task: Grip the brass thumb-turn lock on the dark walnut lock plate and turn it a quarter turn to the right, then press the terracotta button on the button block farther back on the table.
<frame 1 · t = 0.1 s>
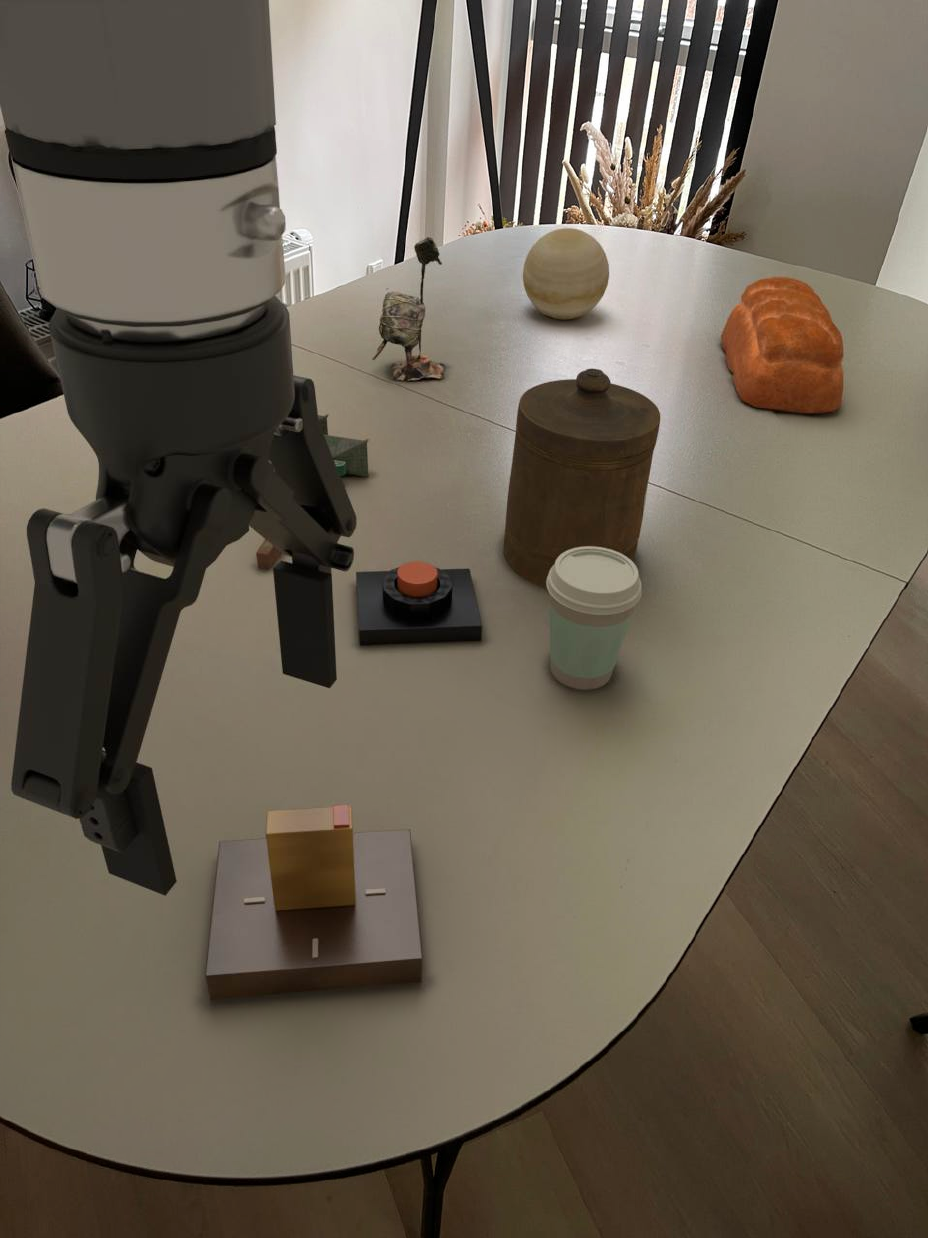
hand: (236, 766, 43), 27 cm above the table, tool pointing down, fingers open, 13 cm apart
decorative ball: (561, 318, 170), on the table
button block: (416, 615, 97), on the table
bird figurine: (410, 374, 147), on the table
bread: (775, 375, 153), on the table
wooden container: (567, 557, 108), on the table
miniature gate: (244, 493, 116), on the table
lock plate: (317, 922, 68), on the table
bell button: (417, 579, 95), point 4 cm above the table, slide at 0.1 cm
coffee cup: (580, 673, 91), on the table
lock knob: (312, 858, 63), point 7 cm above the table, hinge at 0.0°
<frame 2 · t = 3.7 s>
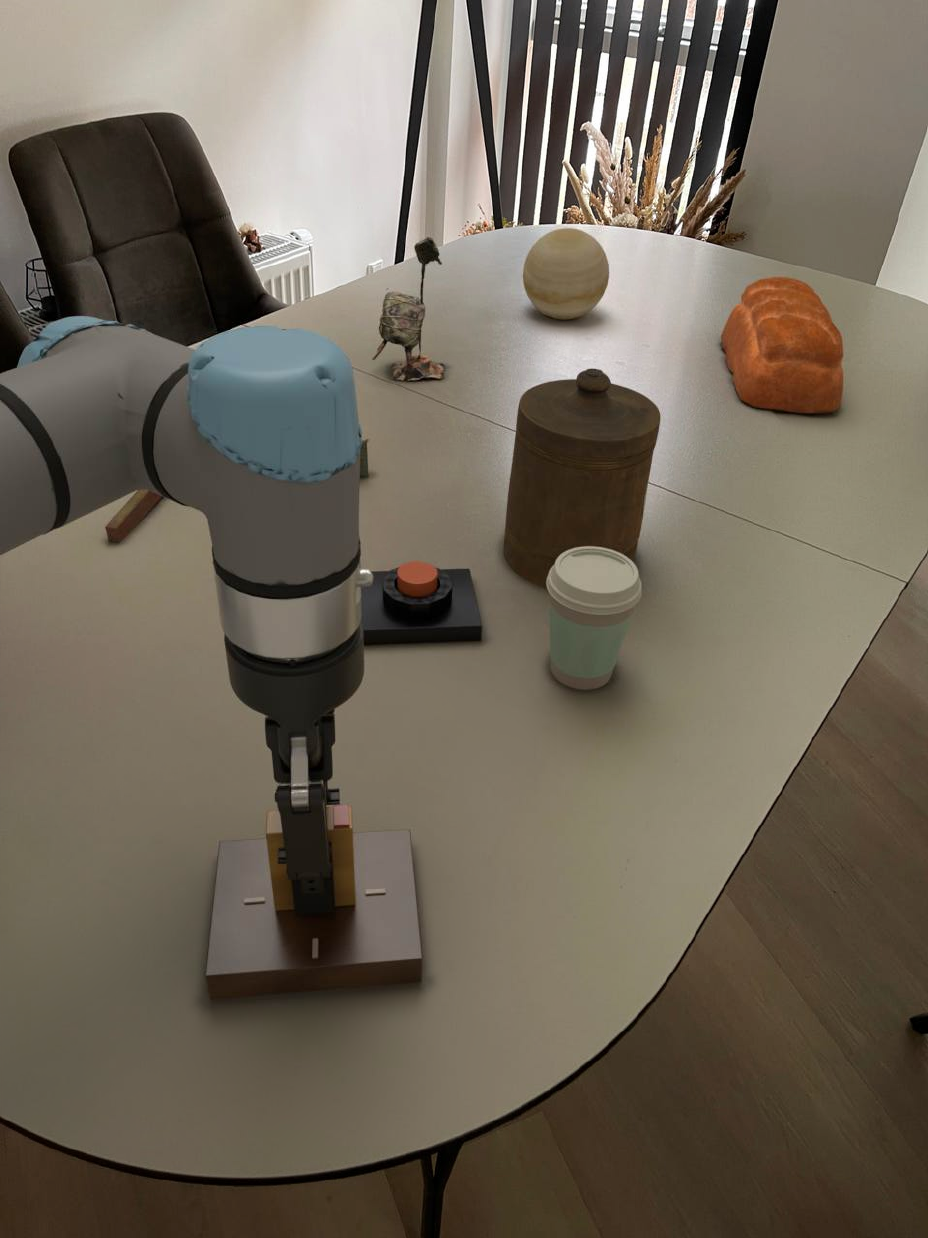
hand: (315, 892, 66), 3 cm above the table, tool pointing down, fingers closed on lock knob, 2 cm apart
lock knob: (312, 858, 63), point 7 cm above the table, hinge at 0.0°, touching gripper
everything else where it was.
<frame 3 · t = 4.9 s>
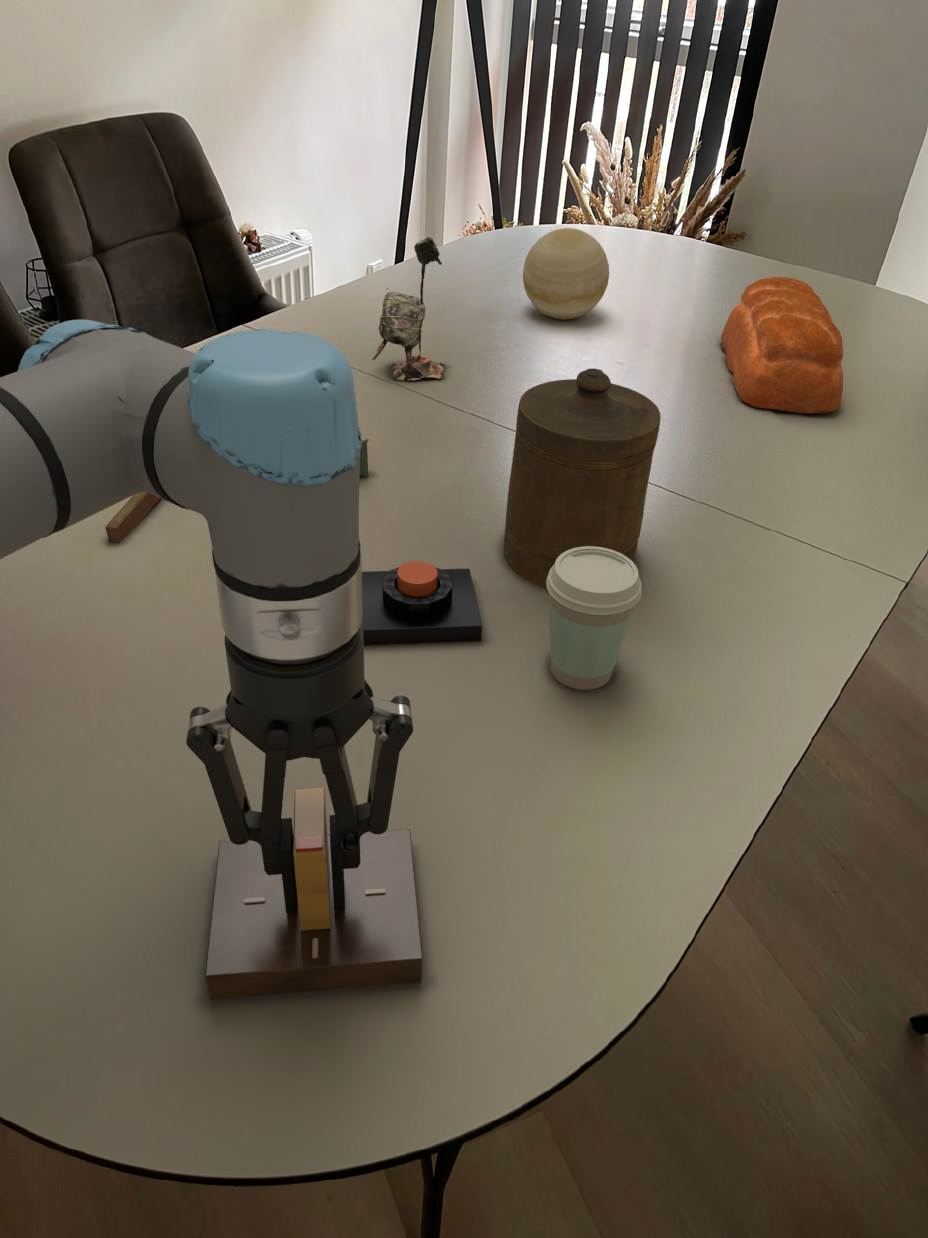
hand: (315, 894, 66), 3 cm above the table, tool pointing down, fingers open, 2 cm apart
lock knob: (312, 858, 63), point 7 cm above the table, hinge at -89.5°
everything else where it was.
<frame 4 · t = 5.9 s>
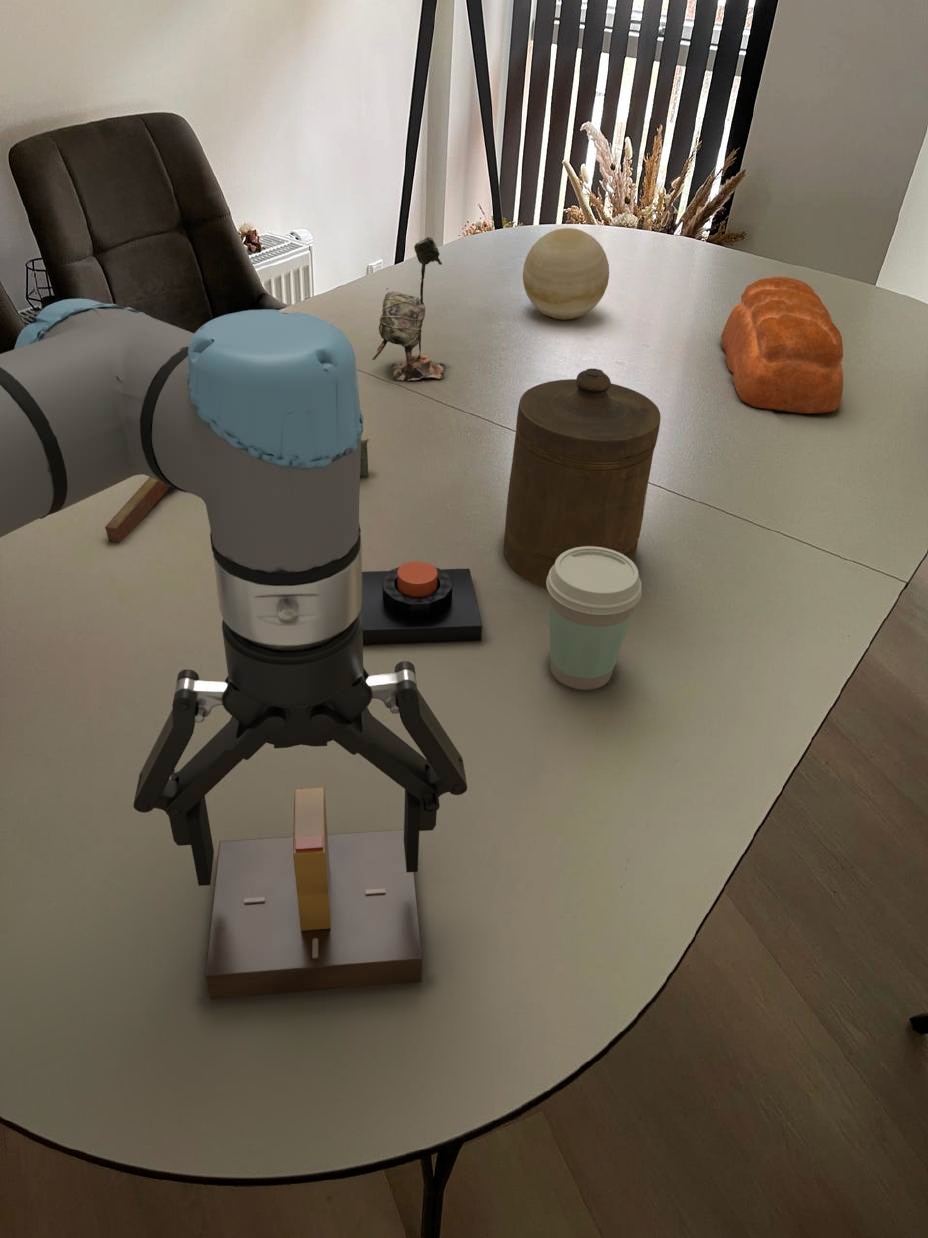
hand: (309, 862, 64), 6 cm above the table, tool pointing down, fingers open, 13 cm apart
nothing on the table moved.
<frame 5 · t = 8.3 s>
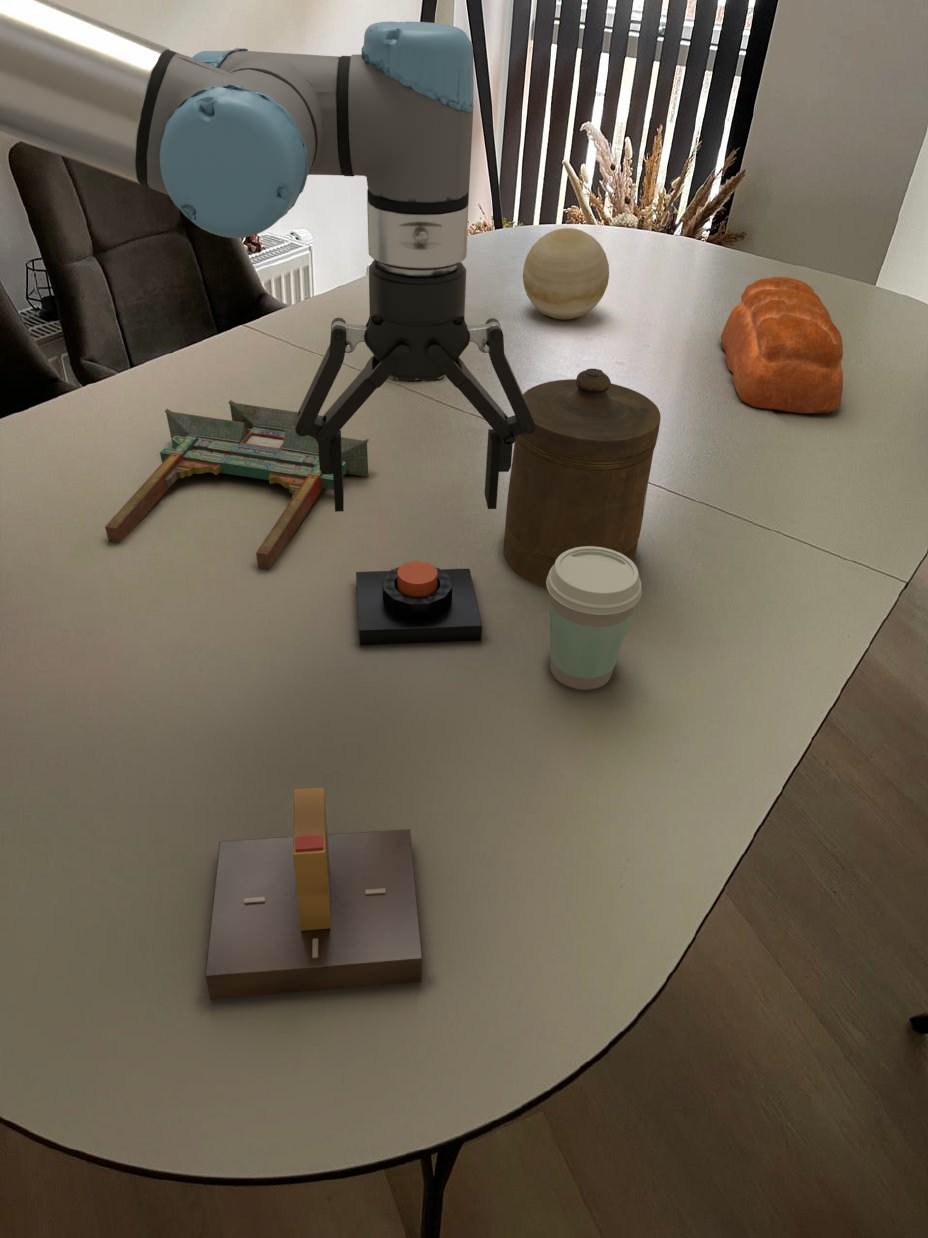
hand: (415, 503, 85), 15 cm above the table, tool pointing down, fingers open, 13 cm apart
nothing on the table moved.
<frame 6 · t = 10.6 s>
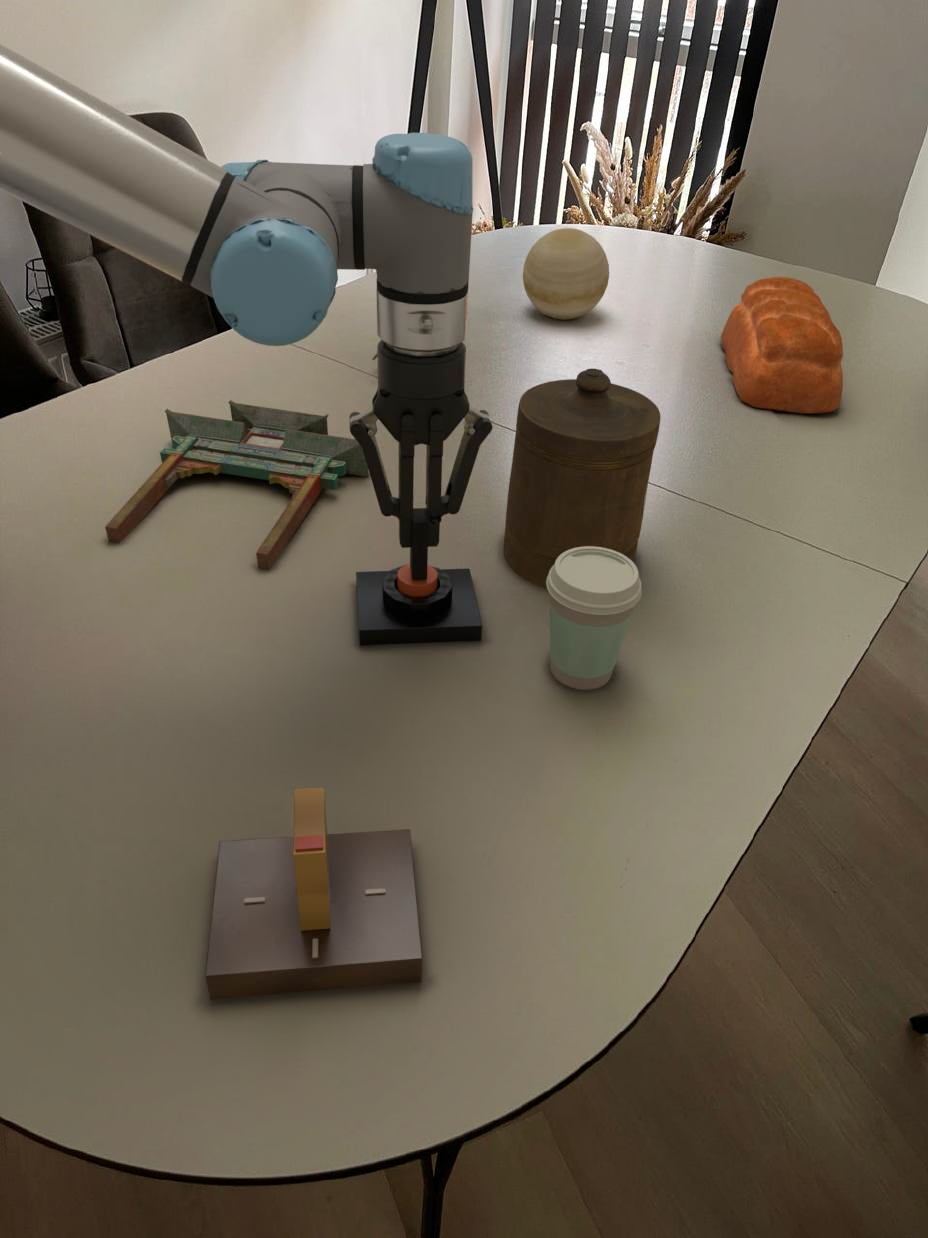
hand: (418, 571, 94), 5 cm above the table, tool pointing down, fingers closed
bell button: (417, 581, 95), point 4 cm above the table, slide at -0.1 cm, touching gripper
everything else where it was.
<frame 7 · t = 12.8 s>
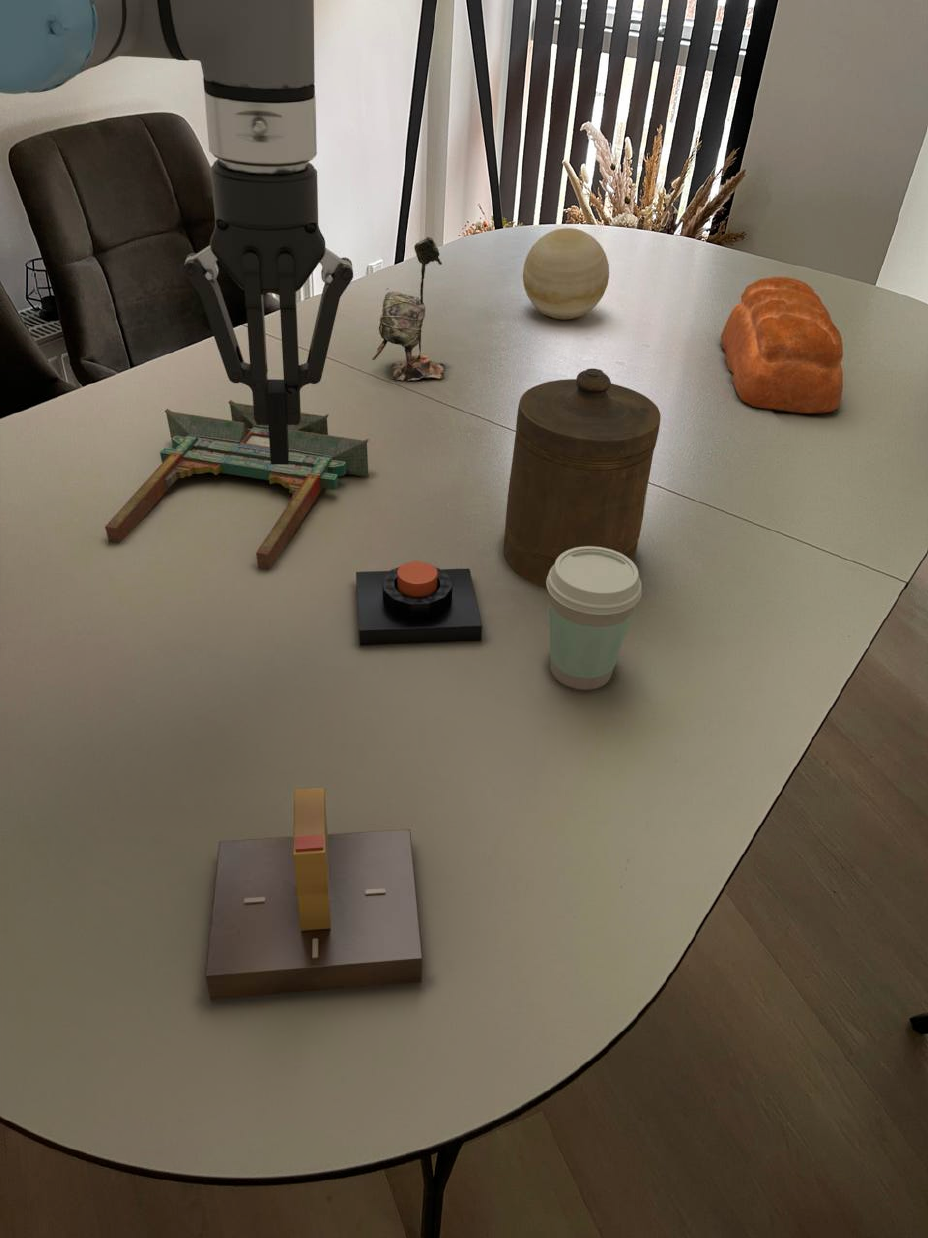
hand: (280, 456, 82), 20 cm above the table, tool pointing down, fingers closed
bell button: (417, 579, 95), point 4 cm above the table, slide at 0.1 cm
everything else where it was.
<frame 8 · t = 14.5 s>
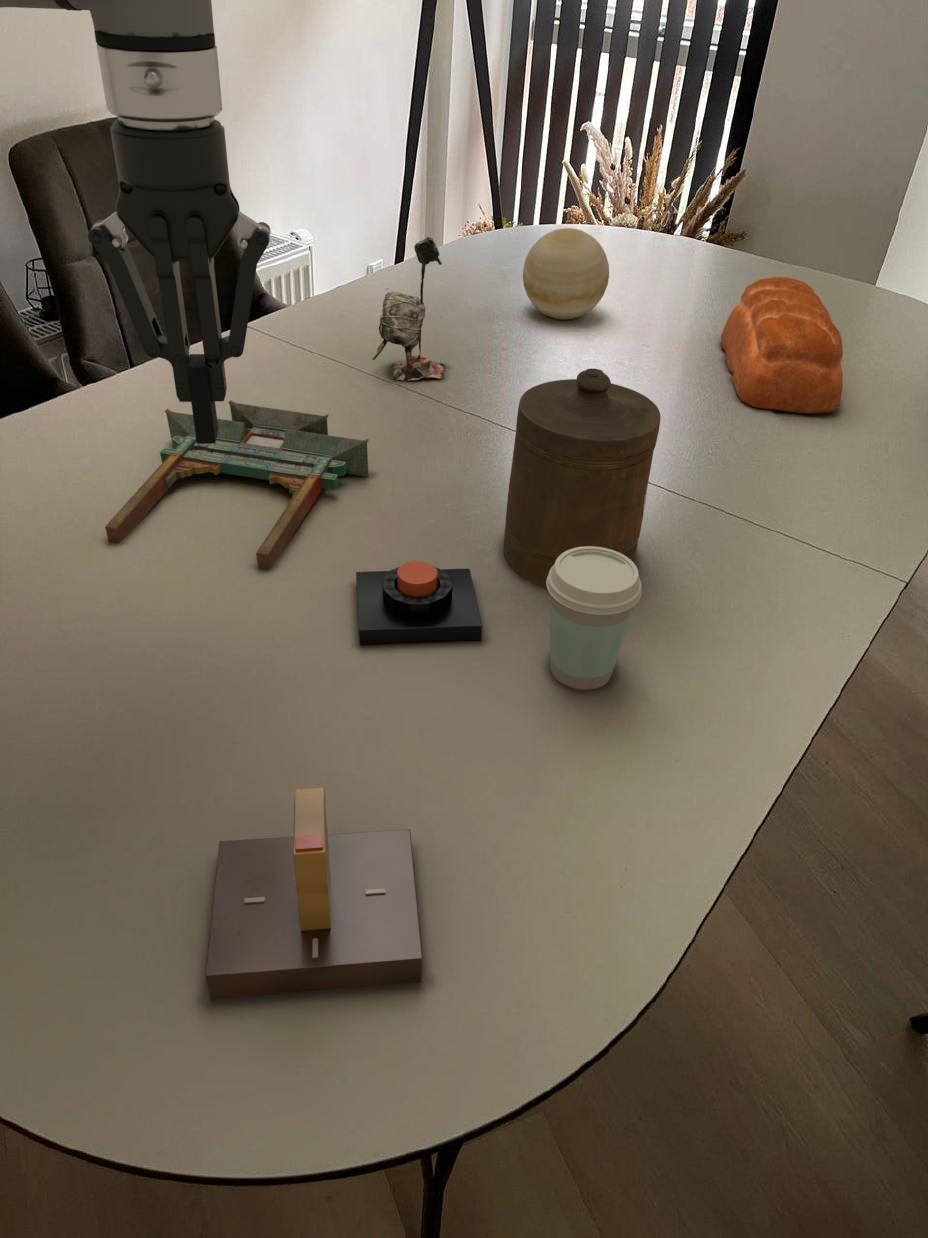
hand: (207, 435, 78), 22 cm above the table, tool pointing down, fingers closed
nothing on the table moved.
at the end: lock knob at -90° (first picture: +0°); bell button pushed in 1.0 cm at the most during the clip, back to where it started at the end; bell button slide at 0.1 cm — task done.
